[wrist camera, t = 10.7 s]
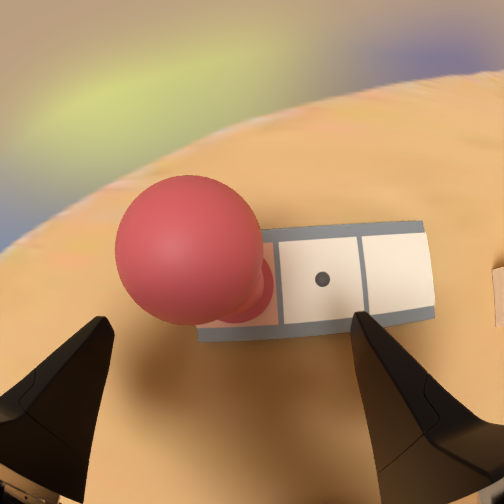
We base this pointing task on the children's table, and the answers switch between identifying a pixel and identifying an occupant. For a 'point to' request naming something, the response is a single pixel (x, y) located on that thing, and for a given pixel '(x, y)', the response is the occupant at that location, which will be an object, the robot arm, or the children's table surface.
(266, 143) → the children's table surface
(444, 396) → the robot arm
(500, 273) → the die
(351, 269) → the board
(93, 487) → the children's table surface
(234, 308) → the pawn
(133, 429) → the children's table surface
